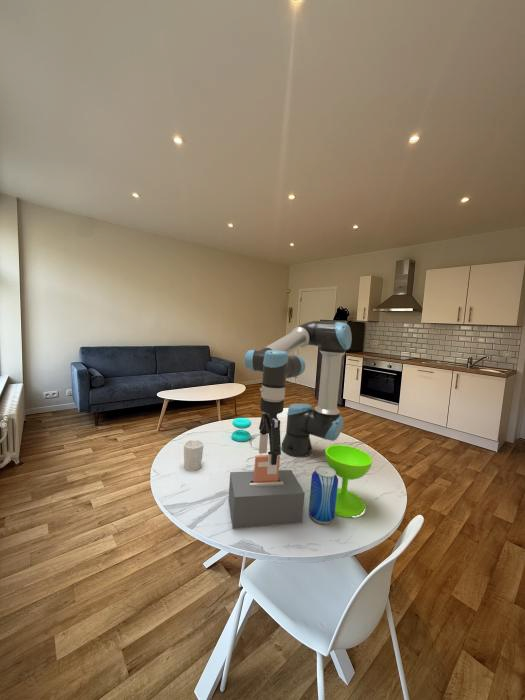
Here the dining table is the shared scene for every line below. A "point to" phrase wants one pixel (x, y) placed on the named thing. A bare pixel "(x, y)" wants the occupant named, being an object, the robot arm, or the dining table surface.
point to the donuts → (241, 434)
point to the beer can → (323, 494)
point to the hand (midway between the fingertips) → (266, 462)
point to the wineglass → (348, 476)
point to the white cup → (193, 454)
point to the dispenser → (265, 500)
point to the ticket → (264, 470)
